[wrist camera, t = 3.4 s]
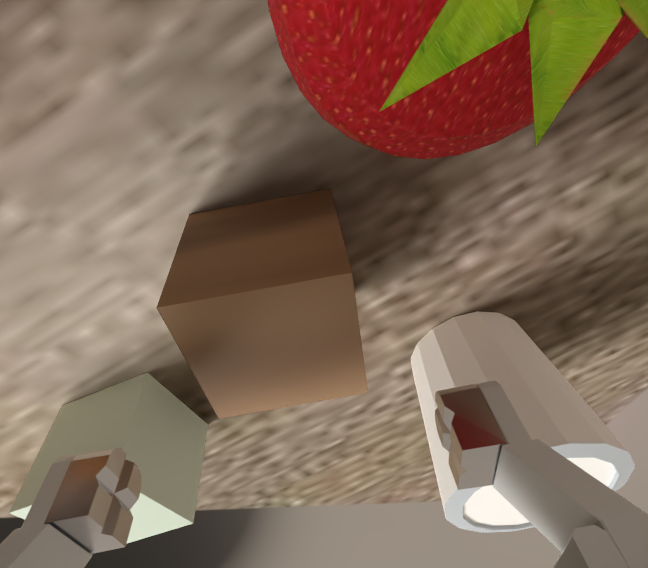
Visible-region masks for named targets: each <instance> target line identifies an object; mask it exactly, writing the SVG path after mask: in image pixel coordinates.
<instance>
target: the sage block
mask: <svg viewBox="0 0 648 568" xmlns="http://www.w3.org/2000/svg"><path fill="white" fill-rule="evenodd" d="M207 428H208V424H207V423H206V422H204V421H203V420H202V419H201V418H200V417H199V416H197V415H196V414H195V413H194V412H193V411H192V410H190V409H189V408H188V407H187V406H186V405H185V404H184V403H182V402H181V401H180V400H179V399H178V398H177V397H175V396H174V395H173V394H172V393H171V392H170V391H168V390H167V389H166V388H165V387H164V386H163V385H161V384H160V383H159V382H158V381H157V380H156V379H154V378H153V377H152V376H151V375H150V374H149V373H144V374H142V375H139V376H137V377H134V378H131V379H129V380H126V381H124V382H121V383H119V384H116V385H114V386H111V387H108V388H106V389H103V390H101V391H98V392H96V393H93V394H91V395H88V396H85V397H83V398H80V399H78V400H75V401H73V402H70V403H67V404H65V405H62V406H61V408H60V410H59V412H58V414H57V416H56V418H55V420H54V422H53V425H52V427H51V429H50V431H49V433H48V435H47V437H46V439H45V441H44V443H43V445H42V447H41V449H40V451H39V453H38V455H37V457H36V459H35V461H34V463H33V465H32V467H31V469H30V471H29V473H28V475H27V477H26V479H25V481H24V483H23V485H22V487H21V489H20V491H19V494H18V496H17V498H16V500H15V502H14V504H13V506H12V508H11V510H10V512H9V513H10V514H13V515H15V516H18V517H20V518H22V519H26V517H27V515H28V513H29V510H30V508H31V506H32V504H33V502H34V500H35V498H36V496H37V494H38V492H39V489H40V487H41V485H42V483H43V481H44V479H45V477H46V475H47V473H48V471H49V468H50V466H51V465H52V463H53V462H54V461H55V460H56V459H57V458H58V457H64V456H69V455H75V454H82V453H88V452H94V451H100V450H107V449H113V448H119V447H120V448H121V449H122V450H123V451H124V452H125V453H126V454H127V455H126V458H125V459H126V460H128V461H131V462H134V463H135V464H136V465H137V466H138V468H139V470H140V473H141V491H140V495H139V499H138V500H137V502H136V503H135V504H134V505H133V507H132V508H131V509H130V511H131V513H132V516H133V521H132V525H131V529H130V532H129V536H128V540H127V543H130V542H133V541H136V540H140V539H143V538H146V537H149V536H152V535H156V534H159V533H163V532H166V531H169V530H173V529H176V528H179V527H183V526H186V525H189V524H193V521H194V515H195V508H196V502H197V495H198V488H199V482H200V475H201V468H202V462H203V455H204V448H205V442H206V435H207Z"/></svg>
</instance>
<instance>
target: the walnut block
mask: <svg viewBox="0 0 648 568" xmlns="http://www.w3.org/2000/svg"><path fill="white" fill-rule="evenodd" d="M157 309H158V311H159V313H160V315H161V317H162V318H163V320H164V322H165V324H166V325H167V327H168V329H169V331H170V333H171V334H172V336H173V338H174V340H175V341H176V343H177V345H178V347H179V349H180V350H181V352H182V354H183V356H184V358H185V359H186V361H187V363H188V365H189V366H190V368H191V370H192V372H193V374H194V375H195V377H196V379H197V381H198V382H199V384H200V386H201V388H202V390H203V391H204V393H205V395H206V397H207V399H208V400H209V402H210V404H211V406H212V407H213V409H214V411H215V413H216V415H217V416H218V418H219V419H220V418H225V417H231V416H237V415H242V414H248V413H254V412H259V411H265V410H271V409H276V408H282V407H288V406H294V405H299V404H305V403H311V402H316V401H322V400H328V399H333V398H339V397H345V396H350V395H356V394H362V393H368V388H367V381H366V373H365V366H364V358H363V351H362V343H361V336H360V328H359V321H358V313H357V306H356V298H355V291H354V283H353V276H352V270H351V267H350V263H349V259H348V255H347V251H346V247H345V243H344V240H343V236H342V232H341V228H340V224H339V220H338V216H337V213H336V209H335V205H334V201H333V197H332V193H331V189H326V190H320V191H315V192H309V193H304V194H299V195H293V196H288V197H282V198H277V199H271V200H266V201H260V202H255V203H249V204H244V205H238V206H233V207H228V208H222V209H217V210H211V211H206V212H200V213H195V214H189V217H188V220H187V222H186V225H185V228H184V231H183V234H182V237H181V240H180V242H179V245H178V248H177V251H176V254H175V257H174V260H173V263H172V265H171V268H170V271H169V274H168V277H167V280H166V283H165V285H164V288H163V291H162V294H161V297H160V300H159V303H158V306H157Z"/></svg>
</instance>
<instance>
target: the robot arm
mask: <svg viewBox="0 0 648 568" xmlns="http://www.w3.org/2000/svg"><path fill="white" fill-rule="evenodd" d="M435 401H436V404H437V406H438V407H437V409H436V410H435V422H436V428H437V431H438V435H439V438H440V441H441V444H442V447H443V448H445V449H446V450H447V451H448V452H449V466H450V469H451V472H452V475H453V477H454V480H455V483H456V485H457V488H458V490H462V489H469V488H476V487H483V486H490V485H493V487H494V488H495V489H496V490H497V491H498V492H499V493H500V494H501V495H502V496H503V497H504V498H505V499H506V500H507V501H508V502H509V503H510V504H511V505H512V506H513V507H515V508H516V509H517V510H518V511H519V512H520V513H521V514H522V515H523V516H524V517H525V518H526V519H527V520H528V521H529V522H530V523H531V524H532V525H533V526H534V527H536V528H537V529H538V530H539V531H540V532H541V533H542V534H543V535H544V536H545V537H546V538H547V539H548V540H549V541H550V542H551V543H552V544H553V545H554V546H556V548H558V549H559V550H560V551H561V554H560V556H559V558H558V560H557V562H556V564H555V566H554V568H648V514H647V513H645V512H644V511H642V510H641V509H639V508H638V507H636V506H635V505H633V504H632V503H631V502H629V501H628V500H626V499H625V498H623V497H622V496H620V495H619V494H617V493H616V492H615V491H613V490H612V489H610V488H609V487H607V486H606V485H604V484H603V483H601V482H600V481H599V480H597V479H596V478H594V477H593V476H591V475H590V474H588V473H587V472H585V471H584V470H583V469H581V468H580V467H578V466H577V465H575V464H574V463H572V462H571V461H569V460H568V459H567V458H565V457H564V456H562V455H561V454H559V453H558V452H556V451H555V450H553V449H552V448H551V447H549V446H548V445H546V444H545V443H543V442H542V441H540V440H539V439H534V440H532V439H531V437H530V436H529V434H528V432H527V430H526V429H525V427H524V425H523V423H522V422H521V420H520V418H519V416H518V415H517V413H516V411H515V409H514V407H513V406H512V404H511V402H510V400H509V399H508V397H507V395H506V393H505V392H504V390H503V388H502V386H501V385H500V384H499V383H498V382H497V381H489V382H484V383H479V384H471V385H465V386H460V387H455V388H450V389H445V390H440V391H436V393H435ZM126 455H127V454H126V453H125V452H124V451H123V450H122V449H121V448H120V447H119V448H113V449H107V450H100V451H94V452H88V453H82V454H75V455H69V456H64V457H58V458H57V459H56V460H55V461H54V462H53V463H52V465H51V466H50V468H49V471H48V473H47V475H46V477H45V479H44V481H43V483H42V485H41V487H40V489H39V492H38V494H37V496H36V498H35V500H34V502H33V504H32V506H31V508H30V510H29V513H28V515H27V517H26V519H25V521H24V523H23V525H22V527H21V528H19V529H15V530H14V531H13V532H12V533H11V534H10V535H9V536H8V537H7V538H6V539H5V540H4V541H3V542H2V543H1V544H0V568H84V567H85V565H86V564H87V563H88V561H89V560H90V558H91V557H92V555H91V554H93V553H97V552H103V551H107V550H112V549H118V548H123V547H126V543H127V540H128V536H129V532H130V529H131V525H132V521H133V516H132V513H131V511H130V509H131V508H132V507H133V505H134V504H135V503H136V502H137V500H138V499H139V495H140V491H141V473H140V470H139V468H138V466H137V465H136V464H135V463H134V462H131V461H128V460H126V459H125V458H126Z"/></svg>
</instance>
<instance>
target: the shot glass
mask: <svg viewBox="0 0 648 568" xmlns="http://www.w3.org/2000/svg"><path fill="white" fill-rule="evenodd" d="M411 364H412V371H413V376H414V380H415V384H416V389H417V393H418V398H419V402H420V407H421V411H422V415H423V420H424V424H425V429H426V433H427V437H428V442H429V446H430V451H431V455H432V460H433V464H434V468H435V473H436V477H437V482H438V486H439V491H440V495H441V499H442V504H443V508H444V512H445V517H446V520H448V521H449V522H451V523H452V524H454V525H455V526H457V527H458V528H460V529H465V530H471V531H476V532H482V533H486V532H509V531H517V530H522V529H527V528H532V527H534V526H533V525H532V524H531V523H530V522H529V521H528V520H527V519H526V518H525V517H524V516H523V515H522V514H521V513H520V512H519V511H518V510H517V509H516V508H515V507H513V506H512V505H511V504H510V503H509V502H508V501H507V500H506V499H505V498H504V497H503V496H502V495H501V494H500V493H499V492H498V491H497V490H496V489H495V488H494V487H493V485H490V486H483V487H476V488H469V489H462V490H458V488H457V485H456V483H455V480H454V477H453V475H452V472H451V469H450V466H449V452H448V451H447V450H446V449H445V448H443V447H442V444H441V441H440V438H439V435H438V431H437V428H436V422H435V410H436V409H437V407H438V406H437V404H436V401H435V393H436V391H440V390H445V389H450V388H455V387H460V386H465V385H471V384H479V383H484V382H489V381H497V382H498V383H499V384H500V385H501V386H502V388H503V390H504V392H505V393H506V395H507V397H508V399H509V400H510V402H511V404H512V406H513V407H514V409H515V411H516V413H517V415H518V416H519V418H520V420H521V422H522V423H523V425H524V427H525V429H526V430H527V432H528V434H529V436H530V437H531V439H532V440H534V439H539V440H540V441H542V442H543V443H545V444H546V445H548V446H549V447H551V448H552V449H553V450H555V451H556V452H558V453H559V454H561V455H562V456H564V457H565V458H567V459H568V460H569V461H571V462H572V463H574V464H575V465H577V466H578V467H580V468H581V469H583V470H584V471H585V472H587V473H588V474H590V475H591V476H593V477H594V478H596V479H597V480H599V481H600V482H601V483H603V484H604V485H606V486H607V487H609V488H610V489H612V490H613V491H615V492H616V491H617V490H618V489H619V488H621V487H622V486H623V485H624V484H626V482H627V480H628V478H629V477H630V475H631V473H632V471H633V469H634V467H635V465H634V462H633V460H632V458H631V456H630V454H629V451H628V450H627V449H626V448H625V447H624V446H623V445H622V443H621V442H620V441H619V440H618V439H617V438H616V437H615V435H614V434H613V433H612V432H611V431H610V430H609V428H608V427H607V426H606V425H605V424H604V423H603V422H602V420H601V419H600V418H599V417H598V416H597V415H596V413H595V412H594V411H593V410H592V409H591V408H590V407H589V405H588V404H587V403H586V402H585V401H584V400H583V398H582V397H581V396H580V395H579V394H578V393H577V392H576V390H575V389H574V388H573V387H572V386H571V385H570V383H569V382H568V381H567V380H566V379H565V378H564V377H563V375H562V374H561V373H560V372H559V371H558V370H557V368H556V367H555V366H554V365H553V364H552V363H551V362H550V360H549V359H548V358H547V357H546V356H545V355H544V354H543V352H542V351H541V350H540V349H539V348H538V347H537V345H536V344H535V343H534V342H533V341H532V340H531V339H530V337H529V336H528V335H527V334H526V333H525V332H524V330H523V329H522V328H521V327H520V326H519V325H518V324H517V322H516V321H515V320H513V319H511V318H509V317H507V316H505V315H503V314H501V313H496V312H479V311H477V312H473V313H468V314H464V315H460V316H456V317H453V318H451V319H449V320H447V321H445V322H443V323H441V324H439V325H438V326H436V327H434V328H432V329H431V330H430V331H429V332H428V333H427V334H426V335H425V336H424V337H423V338H422V339H421V340H420V341H419V342H418V343H417V345H416V347H415V350H414V352H413V354H412V357H411Z"/></svg>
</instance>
